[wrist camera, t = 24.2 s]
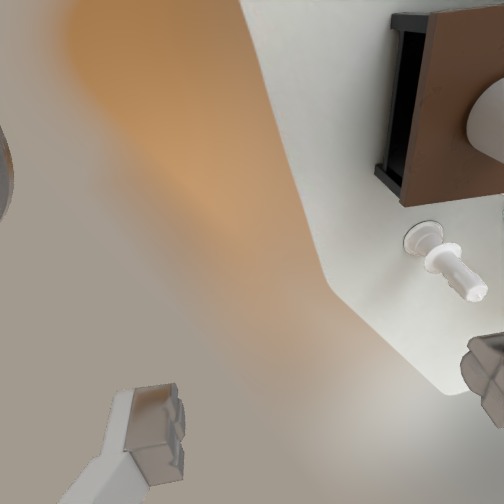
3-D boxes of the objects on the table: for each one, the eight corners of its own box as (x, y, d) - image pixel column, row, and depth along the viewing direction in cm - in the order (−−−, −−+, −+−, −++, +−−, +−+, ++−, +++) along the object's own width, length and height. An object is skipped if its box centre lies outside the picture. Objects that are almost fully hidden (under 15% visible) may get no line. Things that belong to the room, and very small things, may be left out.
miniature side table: (372, 176, 42) (416, 219, 33) (389, 11, 32) (457, 13, 24) (486, 160, 42) (559, 198, 34) (536, -6, 33) (653, -11, 24)
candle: (445, 243, 49) (507, 303, 39) (407, 260, 50) (459, 322, 40) (438, 213, 46) (504, 270, 36) (399, 232, 47) (452, 292, 37)
